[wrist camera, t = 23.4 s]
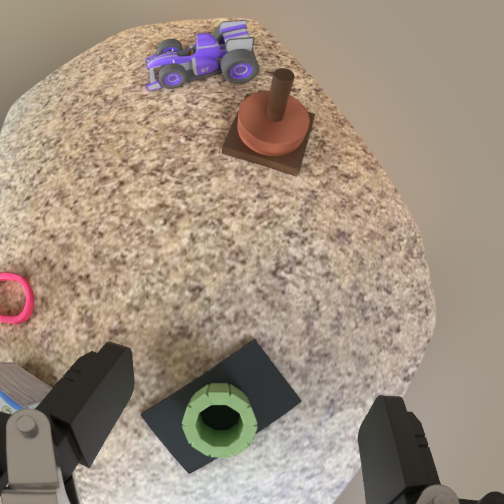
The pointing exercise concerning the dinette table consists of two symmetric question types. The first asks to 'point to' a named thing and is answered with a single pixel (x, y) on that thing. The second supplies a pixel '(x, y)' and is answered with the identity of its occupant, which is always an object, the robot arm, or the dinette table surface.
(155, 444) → the dinette table surface
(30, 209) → the dinette table surface
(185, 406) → the mat
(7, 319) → the fitness band
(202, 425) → the green ring
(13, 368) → the medicine box
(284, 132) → the stand
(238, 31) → the toy race car
